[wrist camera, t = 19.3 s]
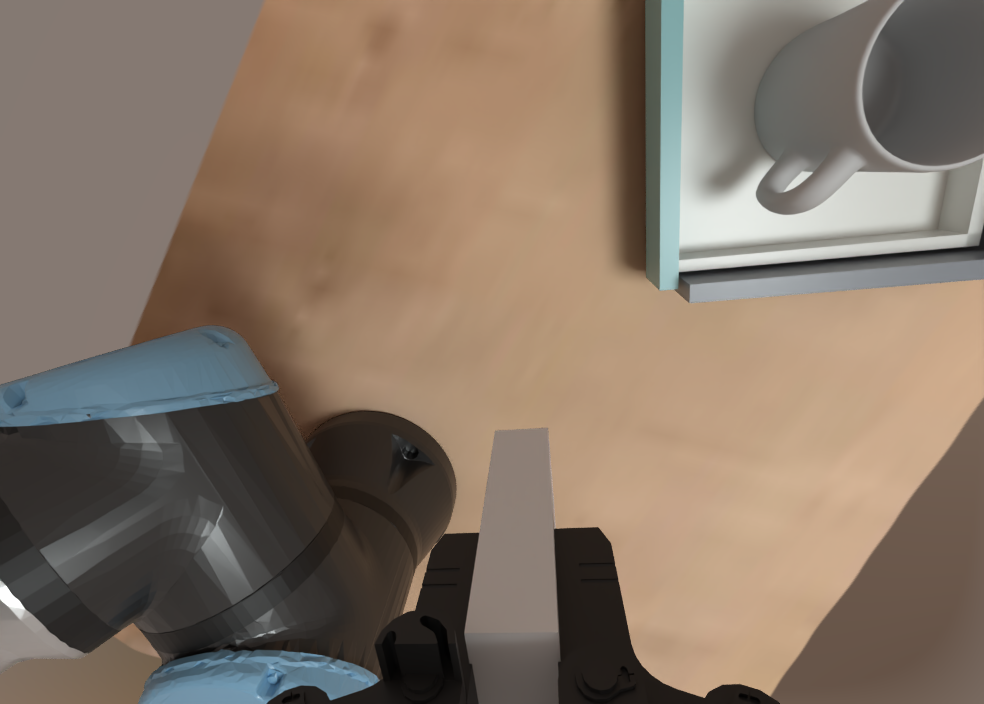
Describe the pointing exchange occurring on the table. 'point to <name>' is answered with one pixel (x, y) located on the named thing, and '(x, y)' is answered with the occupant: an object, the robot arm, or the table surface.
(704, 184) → the tray
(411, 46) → the table surface
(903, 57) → the mug
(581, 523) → the table surface
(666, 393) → the table surface
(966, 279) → the dock
